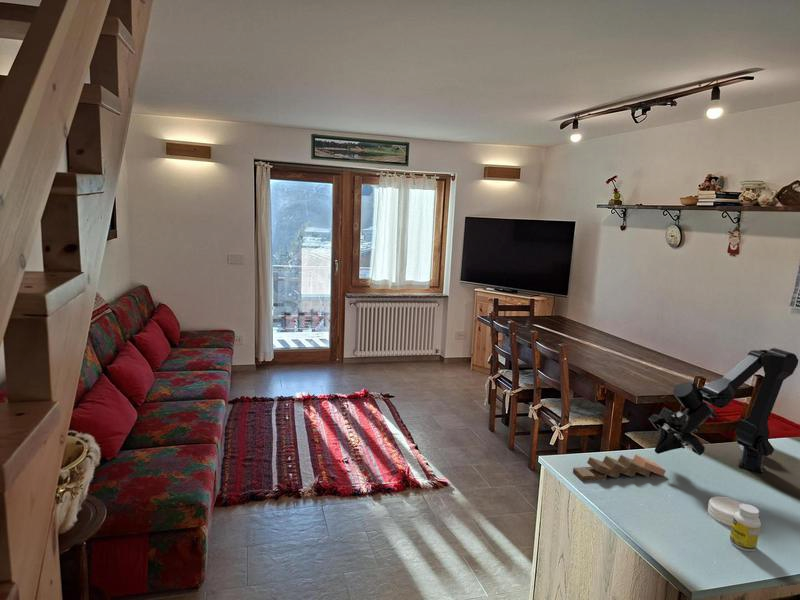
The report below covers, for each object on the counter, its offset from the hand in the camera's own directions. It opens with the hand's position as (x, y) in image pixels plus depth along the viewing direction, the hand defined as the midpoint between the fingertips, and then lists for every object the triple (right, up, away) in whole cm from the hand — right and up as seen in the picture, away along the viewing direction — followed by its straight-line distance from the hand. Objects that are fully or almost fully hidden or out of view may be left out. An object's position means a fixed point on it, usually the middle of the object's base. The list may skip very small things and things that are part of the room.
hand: (655, 452), depth 157 cm
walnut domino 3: (-8, -5, -1) cm, 10 cm away
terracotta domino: (+2, -6, +1) cm, 6 cm away
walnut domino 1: (-18, -6, -3) cm, 19 cm away
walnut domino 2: (-14, -5, -2) cm, 15 cm away
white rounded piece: (+9, -11, -21) cm, 26 cm away
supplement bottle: (+4, -13, -33) cm, 36 cm away
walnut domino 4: (-3, -6, 0) cm, 7 cm away
